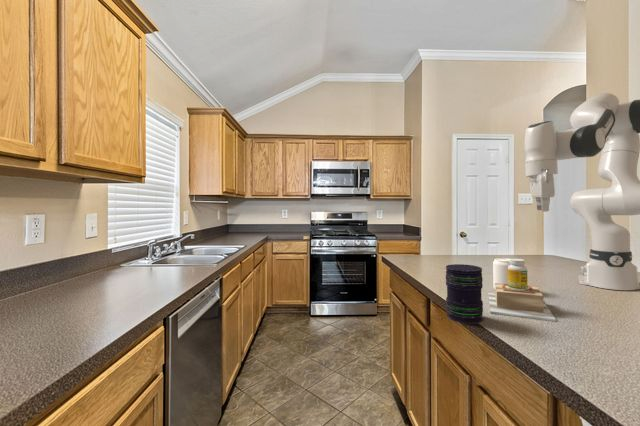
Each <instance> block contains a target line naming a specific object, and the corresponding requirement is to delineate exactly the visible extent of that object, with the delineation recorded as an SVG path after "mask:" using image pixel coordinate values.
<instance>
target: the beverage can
mask: <svg viewBox="0 0 640 426" xmlns="http://www.w3.org/2000/svg"><path fill="white" fill-rule="evenodd" d="M510 259H511V258H503V257H502V258H501V257H499V258H494V260H493V261H492V271H493V273H492V274H493V276H492V280H493V282H492V283H493V284H492V285H493V288H492V289H494V290H495V283H500V284H508V266H509V265H511V264H510Z"/></svg>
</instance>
